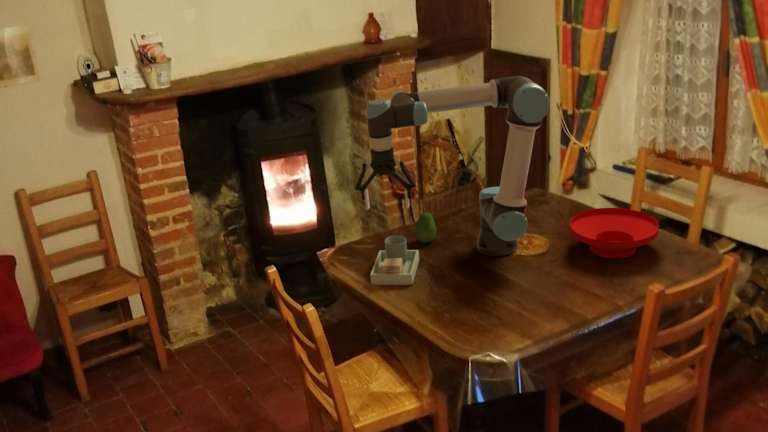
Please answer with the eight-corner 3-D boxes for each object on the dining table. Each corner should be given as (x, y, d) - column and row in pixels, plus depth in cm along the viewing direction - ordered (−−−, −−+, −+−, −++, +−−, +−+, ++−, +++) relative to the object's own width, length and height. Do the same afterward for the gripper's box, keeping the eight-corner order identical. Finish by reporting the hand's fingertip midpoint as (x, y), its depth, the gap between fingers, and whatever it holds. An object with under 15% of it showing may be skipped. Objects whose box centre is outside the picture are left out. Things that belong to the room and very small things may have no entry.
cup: (406, 270, 289) (403, 244, 285) (384, 270, 291) (382, 244, 287) (410, 260, 296) (408, 235, 292) (389, 260, 298) (386, 235, 294)
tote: (419, 259, 298) (418, 250, 296) (412, 284, 280) (411, 274, 279) (380, 260, 300) (379, 250, 299) (371, 285, 283) (370, 274, 281)
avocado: (441, 241, 311) (439, 212, 306) (424, 248, 307) (422, 218, 302) (428, 235, 317) (426, 206, 312) (412, 241, 313) (409, 212, 309)
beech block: (403, 273, 287) (402, 257, 285) (401, 281, 282) (399, 265, 279) (386, 273, 288) (385, 258, 286) (383, 281, 283) (382, 265, 280)
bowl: (562, 263, 285) (562, 237, 281) (577, 228, 311) (577, 204, 307) (653, 271, 274) (655, 244, 270) (661, 235, 300) (662, 209, 296)
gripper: (421, 142, 268) (426, 202, 276) (346, 145, 273) (353, 204, 281) (418, 149, 261) (423, 211, 269) (342, 152, 266) (349, 213, 274)
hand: (387, 207), depth 275 cm, fingers open, 13 cm apart
